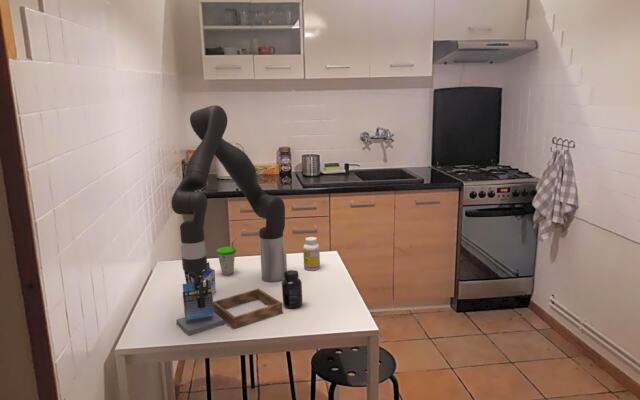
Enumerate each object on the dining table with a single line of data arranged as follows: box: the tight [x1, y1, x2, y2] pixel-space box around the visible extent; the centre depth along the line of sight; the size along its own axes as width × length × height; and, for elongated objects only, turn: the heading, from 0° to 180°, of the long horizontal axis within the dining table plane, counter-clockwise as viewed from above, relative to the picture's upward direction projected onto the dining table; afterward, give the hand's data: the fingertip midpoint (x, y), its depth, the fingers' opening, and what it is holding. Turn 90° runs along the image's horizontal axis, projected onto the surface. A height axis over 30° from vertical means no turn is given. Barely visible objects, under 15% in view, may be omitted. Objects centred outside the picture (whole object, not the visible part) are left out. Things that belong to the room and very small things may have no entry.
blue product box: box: [182, 280, 214, 320], centre depth 161 cm, size 9×4×12 cm, turn 109°
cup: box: [215, 238, 237, 277], centre depth 204 cm, size 8×8×15 cm
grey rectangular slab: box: [175, 312, 225, 336], centre depth 162 cm, size 12×10×2 cm
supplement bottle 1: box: [281, 269, 303, 310], centre depth 173 cm, size 7×7×12 cm
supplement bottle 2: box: [302, 236, 321, 271], centre depth 208 cm, size 7×7×13 cm
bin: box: [213, 288, 284, 330], centre depth 170 cm, size 18×16×4 cm
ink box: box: [198, 261, 216, 295], centre depth 183 cm, size 12×2×12 cm, turn 168°
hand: (198, 304), depth 161 cm, fingers closed on blue product box, 4 cm apart
